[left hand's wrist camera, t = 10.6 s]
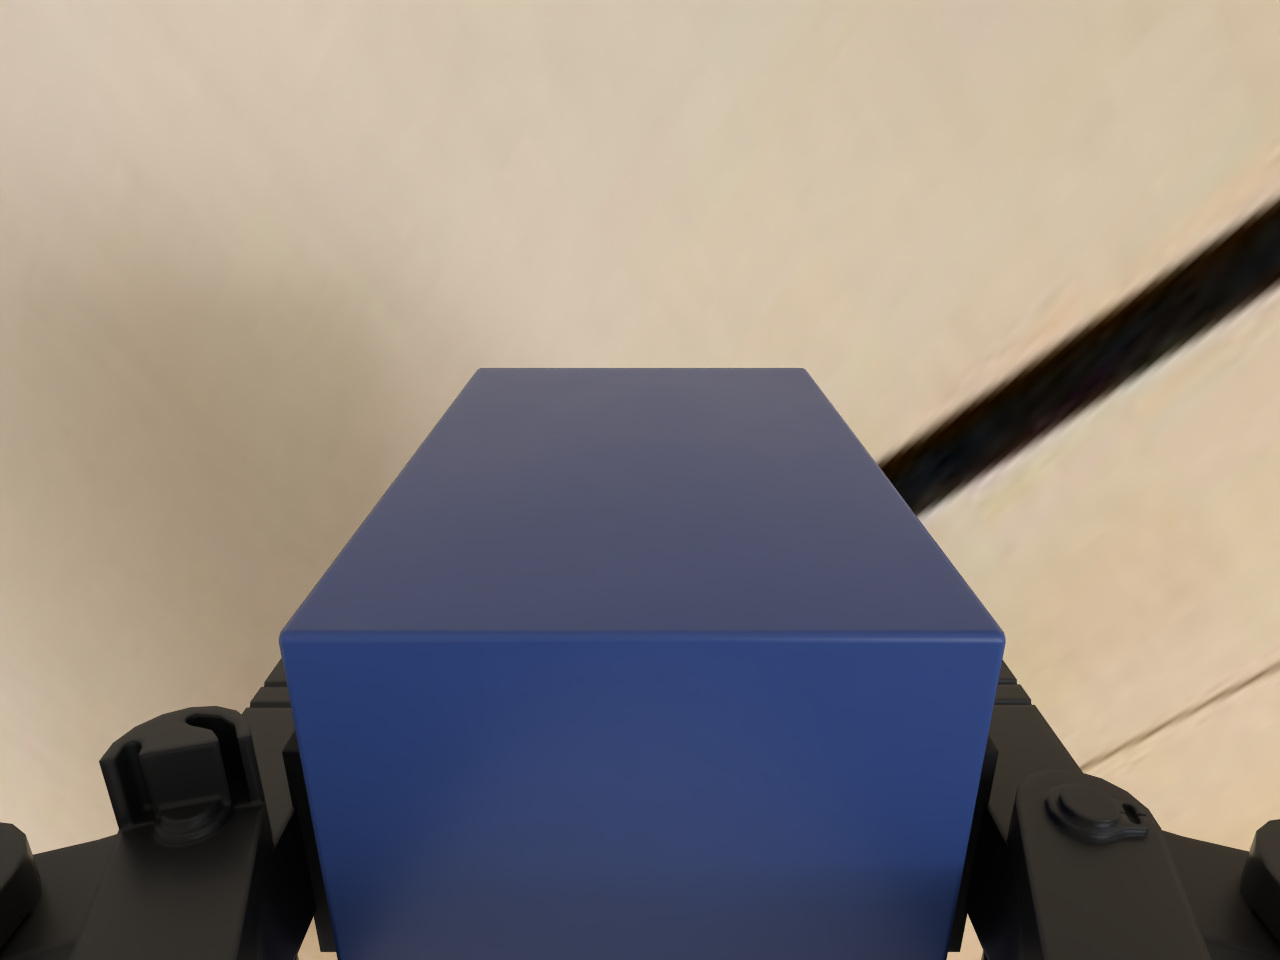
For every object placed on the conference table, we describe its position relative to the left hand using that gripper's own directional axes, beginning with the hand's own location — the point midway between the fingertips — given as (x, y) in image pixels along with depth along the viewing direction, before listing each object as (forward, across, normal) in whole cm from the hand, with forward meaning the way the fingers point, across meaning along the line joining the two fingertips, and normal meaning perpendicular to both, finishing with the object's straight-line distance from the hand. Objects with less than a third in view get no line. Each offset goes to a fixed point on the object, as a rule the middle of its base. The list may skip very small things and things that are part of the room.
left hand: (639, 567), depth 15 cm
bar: (+1, 0, -10) cm, 10 cm away
